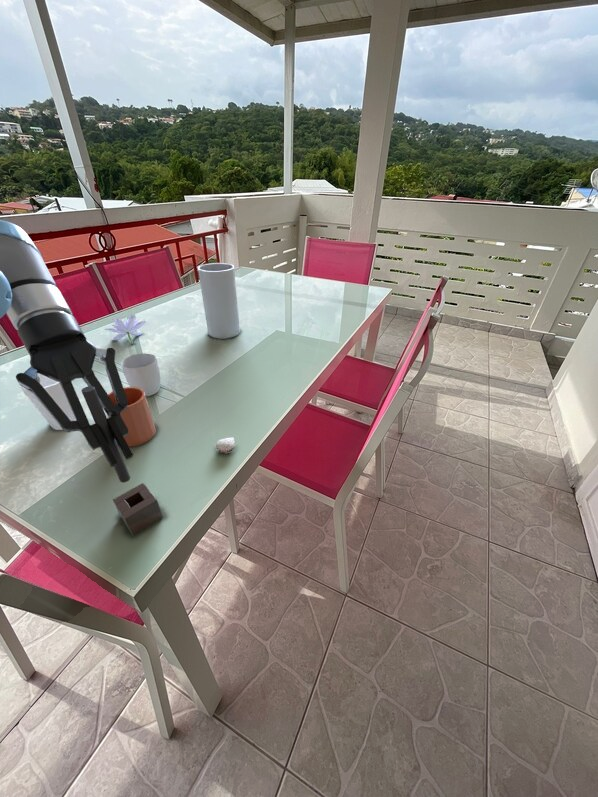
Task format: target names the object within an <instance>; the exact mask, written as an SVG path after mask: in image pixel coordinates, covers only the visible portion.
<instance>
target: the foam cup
mask: <svg viewBox="0 0 598 797" xmlns="http://www.w3.org/2000/svg"><path fill="white" fill-rule="evenodd" d="M38 376H39V378H40V384H41V385H42V386H43V388H44V389H45V390H46V391H47V392H48V394H49V395H50V396H51V397H52V399H53V400H54V401H55V402H56V403H57V405H58V406H59V407H60V408H61V409H62V411H63V412H64V413H65V414H66V416H67V417H68V418H69V419H70V420H71V421H76V419H75V417H74V414H73V412H72V410H71V407H70V405H69V403H68V401H67V398H66V396H65V394H64V391H63V390H62V387H61V385H60V383H59V382H57V381H55V380H53V379H50V378H48V377H46V376H44V375H42V374H40V373H38ZM71 382H72V383H73V381H71ZM19 387H20V388H21V390H22V392H23V394H24V395H25V397H27V398H28V399H29V400H30V401H31V403H32V404H33V405H34V407H35V408H36V409H37V411H38V412H39V413H40V414H41V416H42V417H43V418H44V419H45V421H46V422H47V423H48V424H49V426H51V428H52V429H53V430H56V431H64V430H63V429H62V427H61V426H60V425H59V424H58V423H57V421H56V420H55V419H54V418H53V417H52V415H51V414H50V413H49V412H48V411H47V409H46V408H45V407H44V406H43V405H42V403H41V402H40V401H39V400H38V399H37V397H36V396H35V395H34V394H33V393H32V392H30V391H29V390H27V389H25V388H24V387H22V386H20V385H19Z"/></svg>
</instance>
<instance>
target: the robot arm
mask: <svg viewBox="0 0 598 797" xmlns="http://www.w3.org/2000/svg"><path fill="white" fill-rule="evenodd" d="M5 315H7V317H8V318H9V320H10V322H11V324H12V326H13V328H14V329H15V330H17V335H18V337H19V339H20V340H21V342H22V344H23V346H24V348H25V350H26V351H27V353H28V355H29V358H30V359H29V364H30V367H28V368H27V369H26V370H25V371H24V372H18V373H16V375H15V379H16V381H17V383H18V386H19V387H20V386H22V387H24V388H25V389H27V390H29V391H30V392H32V393H33V394H34V395H35V396H36V397H37V399H38V400H39V401H40V402H41V403H42V405H43V406H44V407H45V408H46V409H47V411H48V412H49V413H50V414H51V415H52V417H53V418H54V419H55V420H56V421H57V423H58V424H59V425H60V426H61V427H62V429H63V430H62V431H64V432H65V433H71V432H80V433H81V434H82V435H83V437H84V439H85V441H86V443H87V444H88V446H89V448H90V449H91V450H92V451H95V450H97V449H99V448H100V449H101V451H102V453H103V455H104V457H105V460H107V462H108V464H109V466H110V468H114V466H115V465H117V463H118V462H117V460H116V459H115V457H114V455H113V453H112V451H111V449H110V448H109V446H108V444H107V442H106V440H105V439H104V437H103V435H102V433H101V431H100V429H99V428H98V426H97V424H96V423H95V422H94V423H92V424H90V421H89V419H88V416H87V414H86V413H85V410H84V407H83V405H82V403H81V401H80V399H79V396H78V394H77V392H76V389H75V387H74V385H73V381H74V380H76V379H82V380H83V382H84V383H85V384H86V385H87V387H88V386H93V387H95V390H96V392H97V395H98V397H99V400H100V402H101V405H102V408H103V410H104V413H105V414H106V416H107V415H108V416H109V418H108V416H107V417H106V418H107V420H108V423H109V425H110V428H111V430H112V433H113V435H114V438H115V440H116V443H117V445H118V448H119V450H120V452H121V454H123V456H124V458H125V460H130V459H131V458H133V456H134V453H133V452H132V450H131V448H130V446H128V444H127V443H126V441H125V439H124V436H126V435H128V428H127V426H126V425H125V423H124V421H123V419H122V417H121V415H120V414H121V413H122V412H123V411H124V410H126V409H127V406H128V400H127V397H126V394H125V391H124V388H125V387H124V386H123V383H122V380H121V376H120V373H119V370H118V368H117V364H116V362H115V360H116V359H115V358H116V349H115V348H114V347H108V348H107V349H104V348H97V347H96V346H95V345H94V344H93V342H90V341H89V339H87V337H86V335H85V333H84V331H83V329H82V327H81V326H80V324H79V322H78V321H77V318H76V317H74V315H73V312H72V309H71V308H70V307H69V304H68V303H67V301H66V299H65V297H64V296H63V294H62V292H61V290H60V289H59V287H58V286H57V284H56V282H55V280H54V278H53V276H52V275H51V272H50V270H49V269H48V267H47V265H46V262H45V261H44V259H43V256H42V253H41V252H40V250H39V249H38V248H37V246H36V245H35V243H34V242H33V240H32V239H31V237H30V236H29V235H28V233H27V232H26V231H25V230H24V229H23V228H22V227H20V226H19V225H16V224H15V223H12V222H10V221H8V220H7V221H6V220H1V219H0V319H2V318H3V317H4V316H5ZM96 358H98V359H99V362H100V363H101V364H104V365H105V366H104V367H105V371H106V375H107V377H108V381H109V384H110V387H111V390H112V392H113V393H114V396H115V399H116V402H117V404H116V405H114V403H113V402H112V400H111V399H110V397H109V396H108V394H109V393H107V391H106V389H105V388H104V386H103V385H102V384H101V382H100V381H99V379H98V377H97V376H96V374H95V372H94V371H93V368H94V363H95V359H96ZM38 373H40V374H42V375H44V376H46V377H48V378H50V379H53V380H55V381H57V382H59V383H60V385H61V387H62V390H63V391H64V394H65V396H66V398H67V401H68V403H69V405H70V407H71V410H72V412H73V414H74V417H75V419H76V421H71V420H70V419H69V418H68V417H67V416H66V414H65V413H64V412H63V411H62V409H61V408H60V407H59V406H58V405H57V403H56V402H55V401H54V400H53V399H52V397H51V396H50V395H49V394H48V392H47V391H46V390H45V389H44V388H43V386H42V385H41V384H40V378H39V376H38ZM71 381H72V382H71Z"/></svg>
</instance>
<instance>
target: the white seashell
mask: <svg viewBox="0 0 598 797" xmlns="http://www.w3.org/2000/svg"><path fill="white" fill-rule="evenodd" d="M235 447H236V441H235V438H234V437H226V438H221V439H219V440H217V442H216V443H215V448H216V451H218V452H219V453H221V454H230V453H232V452H233V451H234V449H235Z"/></svg>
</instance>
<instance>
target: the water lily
mask: <svg viewBox="0 0 598 797" xmlns="http://www.w3.org/2000/svg"><path fill="white" fill-rule="evenodd" d="M136 319H137V316H136V314H131V316H130V317H128V318H127V319H126V321H124V320H123V319H122V318H121V317H118V318H113V319H112V322H113V323H114V324H112V325H111V326H112V327H113V328H111V327H110V328H109V327H108V328H105V329H104V330H105V331H107V332H111V333H117V334H116V336H113V338H112V341H118V340H121V339H123V338H124V337H125V336H126V335H127V336H128V339H129V341H130V344H131V345H134V341H133V339H132V338H131V337H132V336H141V335H142V334H143V332H142V331H137V330H139V329H140V328H142V327H143V326H144V325H145V324H146V323H147V322H148V321H147V320H142V321H139V320H136ZM138 321H139V322H138Z"/></svg>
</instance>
